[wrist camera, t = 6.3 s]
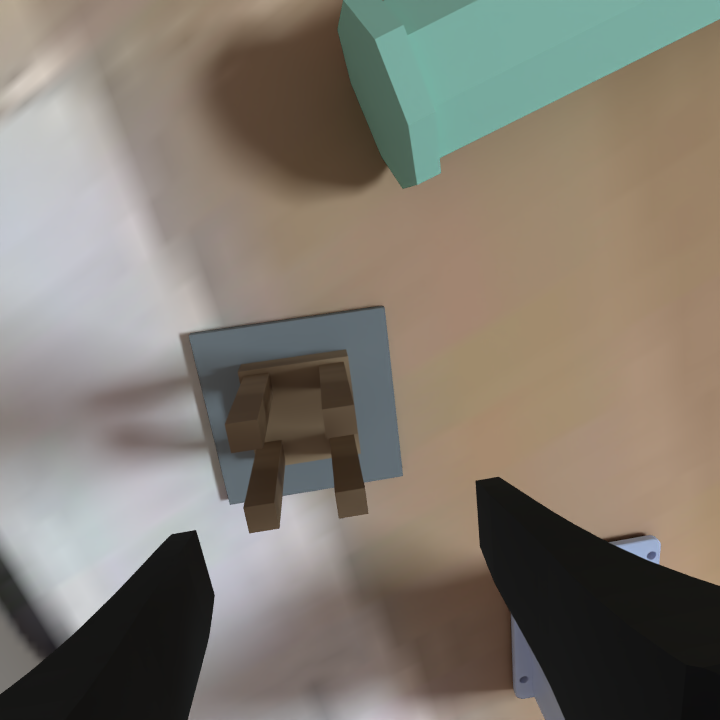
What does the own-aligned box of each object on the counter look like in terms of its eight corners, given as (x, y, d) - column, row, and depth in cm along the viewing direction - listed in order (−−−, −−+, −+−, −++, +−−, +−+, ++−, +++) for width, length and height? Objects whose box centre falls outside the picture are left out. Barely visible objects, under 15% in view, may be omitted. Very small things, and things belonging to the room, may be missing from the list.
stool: (358, 442, 21) (374, 517, 16) (260, 458, 21) (244, 539, 16) (346, 349, 20) (359, 398, 15) (241, 364, 20) (216, 419, 14)
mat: (401, 471, 22) (402, 475, 22) (231, 499, 22) (230, 504, 22) (383, 305, 20) (384, 307, 20) (191, 333, 19) (188, 335, 19)
